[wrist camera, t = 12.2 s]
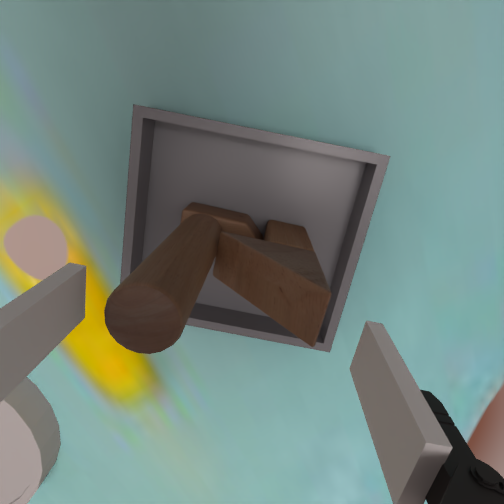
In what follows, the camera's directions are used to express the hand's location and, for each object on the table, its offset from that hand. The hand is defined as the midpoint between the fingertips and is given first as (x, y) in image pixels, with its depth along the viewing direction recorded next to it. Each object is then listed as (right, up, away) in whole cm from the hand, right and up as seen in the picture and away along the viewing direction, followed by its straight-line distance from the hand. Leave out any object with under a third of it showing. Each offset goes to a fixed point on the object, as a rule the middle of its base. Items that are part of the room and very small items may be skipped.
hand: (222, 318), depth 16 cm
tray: (+1, +5, +17) cm, 18 cm away
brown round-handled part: (+1, +5, +16) cm, 17 cm away
